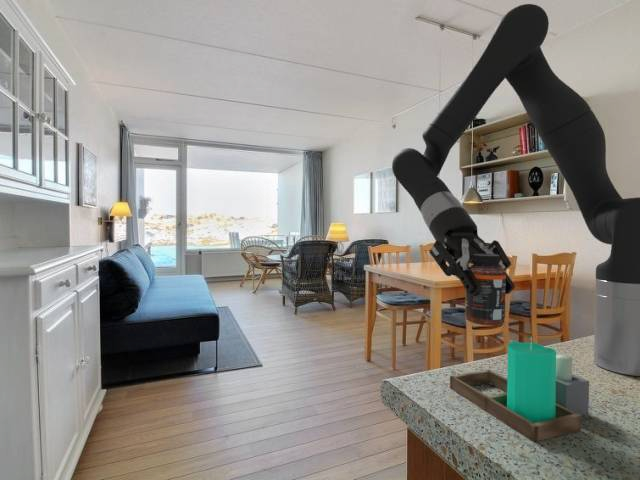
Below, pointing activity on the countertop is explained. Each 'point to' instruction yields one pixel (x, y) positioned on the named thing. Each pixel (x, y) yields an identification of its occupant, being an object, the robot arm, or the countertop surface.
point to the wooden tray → (497, 407)
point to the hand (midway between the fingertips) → (493, 292)
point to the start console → (573, 395)
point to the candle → (531, 381)
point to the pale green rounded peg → (563, 368)
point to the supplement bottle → (487, 291)
